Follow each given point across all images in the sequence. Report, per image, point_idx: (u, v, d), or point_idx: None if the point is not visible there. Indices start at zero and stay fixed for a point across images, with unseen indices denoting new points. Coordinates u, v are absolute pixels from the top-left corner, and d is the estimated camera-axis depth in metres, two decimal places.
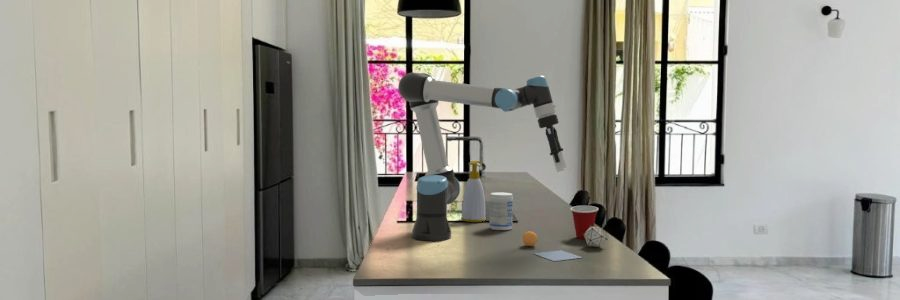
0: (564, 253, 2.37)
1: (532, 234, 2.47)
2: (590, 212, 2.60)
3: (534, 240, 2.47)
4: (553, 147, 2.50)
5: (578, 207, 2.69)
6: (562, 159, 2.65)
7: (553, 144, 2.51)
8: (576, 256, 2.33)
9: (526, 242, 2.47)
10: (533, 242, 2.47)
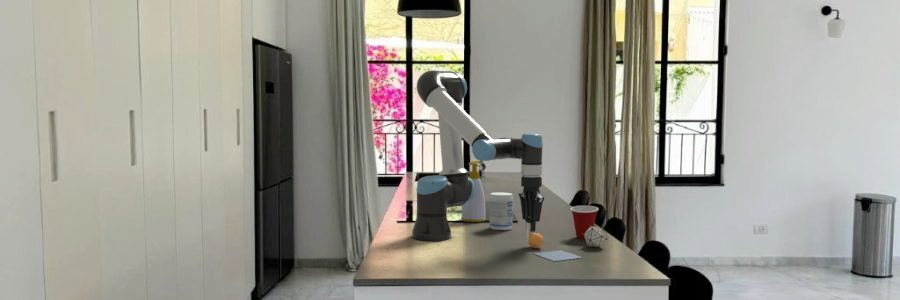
0: (564, 253, 2.37)
1: (539, 244, 2.43)
2: (590, 212, 2.60)
3: None
4: (537, 217, 2.45)
5: (578, 207, 2.69)
6: None
7: (538, 214, 2.45)
8: (576, 256, 2.33)
9: (529, 244, 2.45)
10: None
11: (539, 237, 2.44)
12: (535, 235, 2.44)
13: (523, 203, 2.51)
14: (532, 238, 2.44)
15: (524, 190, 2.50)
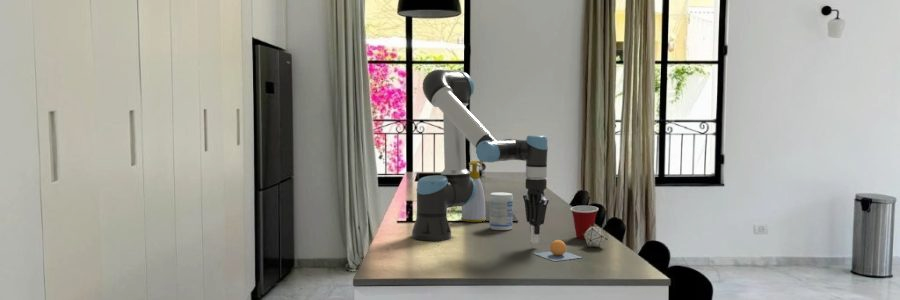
0: (564, 253, 2.37)
1: (559, 241, 2.33)
2: (590, 212, 2.60)
3: (563, 246, 2.32)
4: (541, 220, 2.42)
5: (578, 207, 2.69)
6: None
7: (542, 217, 2.42)
8: (576, 256, 2.33)
9: (555, 250, 2.32)
10: (562, 249, 2.32)
11: None
12: None
13: (527, 205, 2.48)
14: (551, 244, 2.34)
15: (528, 192, 2.47)
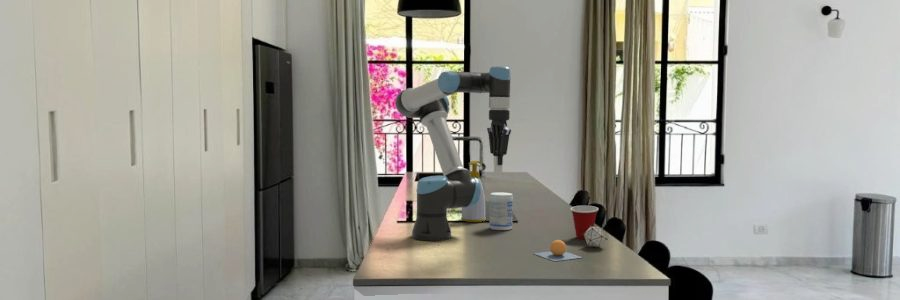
0: (564, 253, 2.37)
1: (559, 241, 2.33)
2: (590, 212, 2.60)
3: (563, 246, 2.32)
4: (504, 150, 2.44)
5: (578, 207, 2.69)
6: None
7: (505, 147, 2.44)
8: (576, 256, 2.33)
9: (555, 250, 2.32)
10: (562, 249, 2.32)
11: None
12: None
13: (491, 137, 2.51)
14: (551, 244, 2.34)
15: (492, 124, 2.49)
